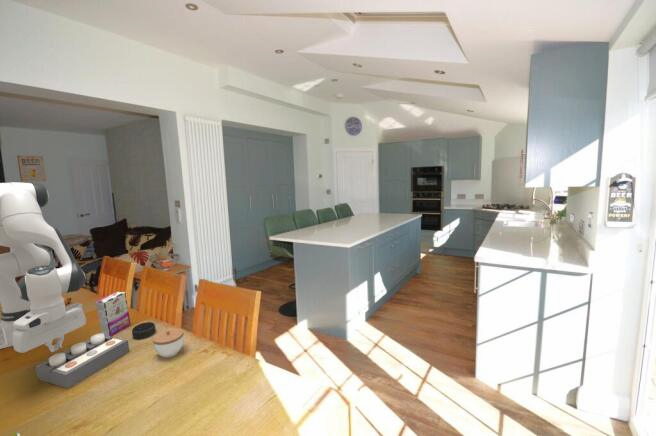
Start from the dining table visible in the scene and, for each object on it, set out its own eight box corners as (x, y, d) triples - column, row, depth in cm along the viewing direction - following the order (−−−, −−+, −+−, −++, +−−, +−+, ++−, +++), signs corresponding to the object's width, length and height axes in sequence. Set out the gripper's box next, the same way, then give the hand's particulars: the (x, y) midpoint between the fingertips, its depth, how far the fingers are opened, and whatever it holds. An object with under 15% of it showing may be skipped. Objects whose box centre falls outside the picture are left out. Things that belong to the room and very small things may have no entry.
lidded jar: (189, 352, 122) (187, 329, 121) (160, 364, 115) (157, 341, 113) (178, 342, 130) (176, 321, 128) (150, 354, 122) (148, 331, 121)
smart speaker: (127, 339, 134) (126, 330, 134) (144, 328, 143) (143, 320, 142) (144, 341, 132) (143, 332, 131) (160, 330, 141) (159, 322, 140)
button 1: (47, 369, 109) (45, 358, 109) (61, 361, 113) (59, 351, 113) (55, 371, 108) (53, 361, 107) (69, 364, 112) (67, 353, 111)
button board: (38, 379, 109) (35, 365, 108) (101, 345, 129) (99, 333, 129) (68, 388, 104) (65, 373, 103) (129, 351, 124) (127, 338, 123)
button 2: (69, 357, 116) (67, 347, 115) (82, 351, 120) (80, 341, 119) (77, 359, 114) (75, 349, 114) (90, 353, 118) (88, 343, 118)
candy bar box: (122, 324, 148) (117, 291, 145) (130, 324, 147) (126, 291, 144) (100, 336, 137) (95, 301, 134) (110, 337, 136) (104, 301, 133)
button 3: (89, 347, 122) (87, 338, 122) (100, 341, 126) (99, 332, 126) (96, 349, 121) (95, 339, 120) (108, 343, 125) (106, 334, 124)
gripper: (75, 299, 118) (81, 333, 120) (6, 325, 99) (14, 365, 101) (87, 301, 116) (92, 335, 118) (18, 328, 97) (26, 368, 99)
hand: (56, 349), depth 109 cm, fingers closed
